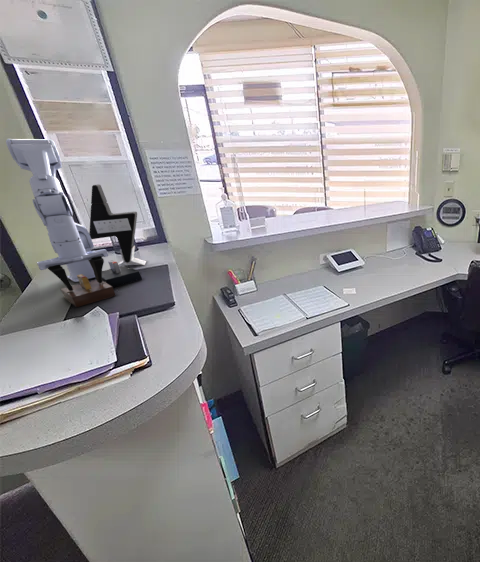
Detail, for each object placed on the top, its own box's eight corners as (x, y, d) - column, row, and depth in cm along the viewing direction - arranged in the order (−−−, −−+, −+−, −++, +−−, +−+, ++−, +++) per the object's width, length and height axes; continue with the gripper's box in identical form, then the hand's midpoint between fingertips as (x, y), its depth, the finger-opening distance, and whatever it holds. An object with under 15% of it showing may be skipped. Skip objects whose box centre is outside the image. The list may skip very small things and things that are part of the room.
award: (101, 271, 113) (69, 186, 102) (105, 267, 118) (74, 185, 107) (150, 264, 120) (124, 183, 109) (152, 260, 124) (128, 182, 113)
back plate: (96, 281, 103) (93, 272, 102) (128, 273, 110) (125, 264, 109) (109, 288, 97) (105, 279, 96) (142, 279, 104) (139, 270, 103)
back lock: (111, 271, 103) (107, 260, 102) (115, 270, 104) (112, 259, 103) (117, 273, 101) (113, 262, 99) (121, 272, 102) (117, 261, 100)
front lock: (81, 286, 91) (76, 274, 90) (86, 285, 92) (81, 273, 90) (86, 289, 88) (81, 277, 87) (91, 288, 89) (86, 276, 88)
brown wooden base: (64, 298, 91) (59, 288, 90) (102, 287, 98) (99, 278, 97) (75, 307, 84) (71, 297, 83) (116, 295, 91) (112, 285, 90)
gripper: (33, 248, 77) (55, 297, 82) (104, 236, 88) (120, 280, 93) (27, 245, 81) (49, 292, 86) (96, 233, 92) (112, 276, 97)
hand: (85, 285), depth 90 cm, fingers open, 6 cm apart
